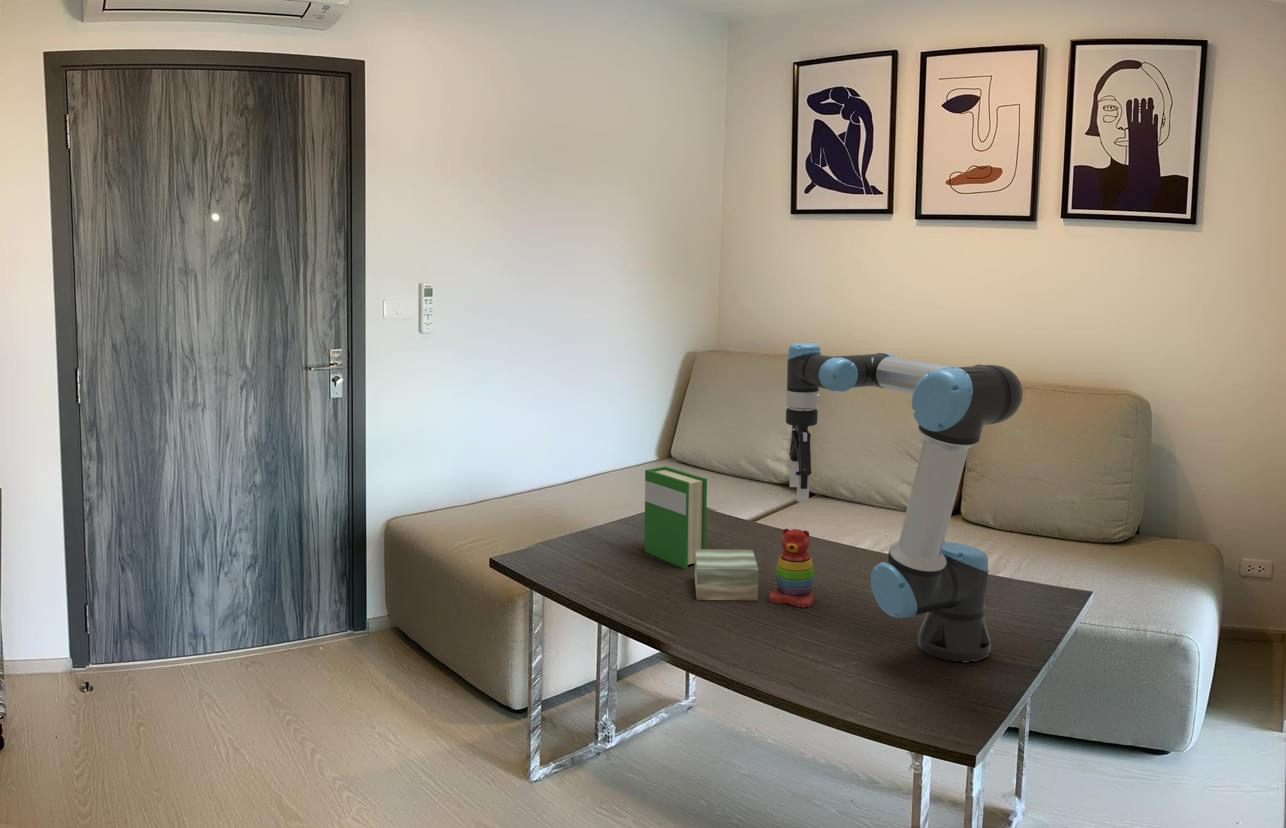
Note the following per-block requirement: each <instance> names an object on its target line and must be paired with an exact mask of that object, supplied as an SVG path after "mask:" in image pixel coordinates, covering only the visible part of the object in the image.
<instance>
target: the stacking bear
mask: <svg viewBox="0 0 1286 828" xmlns="http://www.w3.org/2000/svg"><path fill="white" fill-rule="evenodd" d="M782 535H783V536H782V539H781V545H782V548H783V551H781V553H780V554H779V557H778V559H777V564H776V567H775V580H776V585H777V588H775V589H773V590H772V591H771V592H770V593H769V594H768V597H767V599H768V601H769V602H770V603H774V604H786V603H789V604H788V605H791V604H792V606H794V605H795V606H794V607H796V606H797V608H799V607H802V608H801V609H805V607H808V608H810V607H811V606H812V605H813V604H814V595H813V593H812V587H813V584H814V579H815V570H814V564H813V559H812V557H811V555H810V553H809V552H808V549H809V546H810V538H809V537H810V532H809V531H808V530H805V529H804V530H802V529H797V528H791V529H789V528H784V529H783V530H782Z"/></svg>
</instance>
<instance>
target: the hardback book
mask: <svg viewBox="0 0 1286 828" xmlns="http://www.w3.org/2000/svg"><path fill="white" fill-rule="evenodd" d="M644 477H645V478H644V482H645V483H644V553H645V552H647V553H646V554H648V553H649V554H648V555H650V554H651V555H650V556H653V555H654V556H653V557H655V556H656V557H655V558H657V557H658V559H659V560H662V559H663V560H662V561H666V562H667V563H669V562H670V564H672V565H674V566H678V567H680V568H681V569H684V570H685V569H688V565H691V564H692V565H693V564H695V549H707V545H706V544H707V505H708V504H707V502H708V501H707V500H708V495H707V494H708V478H707V477H703V476H700V475H696V474H692V473H689V472H686V471H682V470H679V469H675V468H672V467H669V466H660V467H656V468H649V469H645V472H644Z"/></svg>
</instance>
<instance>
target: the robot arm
mask: <svg viewBox="0 0 1286 828" xmlns="http://www.w3.org/2000/svg"><path fill="white" fill-rule="evenodd" d="M787 353H788V354H787V355H788V356H787V358H786V359H787V360H786V362H787V367H786V368H787V372H786V373H787V374H786V393H785V396H786V397H785V406H786V407H787V408H786V409H785V423H786V424H787V425H789V426H791V427H792V429H791V436H790V437H791V439H790V448H789V452H788V454H789V459H790V464H789V465H790V467H789V488H796V502H797V503H798V502H801V503H808V502H809V501H810V499H809V497H810V475H812V461H811V460H812V459H811V458H812V457H811V455H812V454H811V437H812V433H811V432H809V429H808V427H814V426H816V425H817V424H818V415H819V410H818V409H817V408H818V406H819V400H818V399H821V397H822V395H821V394H819V392H820V391H819V390H820V388H821V389H825V390H828V391H831V392H840V393H844V392H847V391H850V390H851V389H852V388H862V387H866V388H867V387H875V388H880V389H887V390H892V391H897V392H901V393H906V394H911V395H912V397H911V408H912V410H914V412H913V413H912V415H913V417H914V419H915V421H916V422H917V423H918V432H919V433H920V435H921V436H922V437H923V441H922V445H921V448H920V453H919V457H918V461H917V466H916V469H915V473H914V478H913V480H912V481H913V482H912V486H911V490H910V493H909V494H910V495H909V499H908V502H907V507H906V510H905V515H904V519H903V523H902V527H901V531H900V535H899V539H898V540H897V541H895V542H893V543H892V544H891V545H890V546H889V550H888V553H887V555H886V556H887V558H886V561H885V562H884V561H882V562H880V563H878V564H876V565H875V566H874V567H873V568H872V570H871V573H870V588H871V592H872V594H873V596H874V600H875V601H876V603H877V604H878V606H879V607H880V609H881V610H882V611H883V612H884V613H885V614H887V615H888V616H890V617H892V618H897V619H903V618H912V617H915V616H917V615H922V614H925V613H926V614H925V616H924V619H923V622H922V623H921V626H920V628H919V631H918V633H917V634H918V635H917V646H918V648H919V649H920V650H921V651H922V652H924V653H925V654H927V655H929V656H930V657H933V656H934V657H933V658H936V657H937V658H936V659H939V658H942V659H941V660H943V659H946V660H945V661H947V660H954V661H955V660H956V661H972V660H978V659H981V658H984V657H986V656H988V654H989V653H990V654H991V647H992V643H991V642H992V641H991V639H990V634H989V630H988V628H987V623H986V621H985V612H986V611H985V609H986V602H987V599H986V598H987V590H988V589H987V588H988V580H989V579H988V578H989V577H988V576H989V572H990V570H989V558H988V557H989V556H988V555H987V553H985V552H984V551H983V550H982V549H979V548H978V547H975V546H971V545H968V544H965V543H959V542H952V541H945V540H946V536H947V532H948V529H949V524H950V520H951V517H952V513H953V509H954V505H955V501H956V497H957V494H958V490H959V486H960V482H961V478H962V474H963V471H964V467H965V463H966V460H967V456H968V452H969V449H970V448H972V447H975V446H977V444H979V443H980V440H981V439H980V438H981V435H982V432H983V428H984V426H988V425H993V424H994V425H995V424H996V425H997V424H999V423H1002V422H1005V421H1007V420H1008V419H1010V418H1012V417H1013V416H1014V415H1015V414H1016V412H1018V410H1019V408H1020V406H1021V405H1022V401H1023V398H1024V397H1023V395H1024V391H1023V385H1022V383H1021V380H1020V379H1019V377H1018V376H1017V375H1016V373H1014V372H1013V371H1012V370H1010V369H1009V368H1007V367H1005V366H1001V365H998V364H997V365H995V364H988V365H987V364H974V365H970V366H958V365H951V364H950V365H949V364H944V363H937V362H933V361H932V362H930V361H925V360H924V361H923V360H917V359H910V358H904V357H899V356H898V357H896V356H895V354H892V353H886V352H876V353H869V354H868V353H867V354H851V355H850V354H849V355H835V356H833V355H832V356H831V355H824V354H822V353H821V346H820V345H819V344H818V343H813V342H811V343H810V342H797V343H792V344H790V345H789V347H788V352H787Z"/></svg>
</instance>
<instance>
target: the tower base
mask: <svg viewBox="0 0 1286 828" xmlns="http://www.w3.org/2000/svg"><path fill="white" fill-rule="evenodd" d="M759 573H760V571H759V566H758V563H757V560H756V556H755V553H754V550H753V549H708V548H706V549H695V563H694V586H695V587H694V588H695V597H696V600H697V601H705V600H706V601H716V600H717V601H758V600H759V599H758V598H759Z"/></svg>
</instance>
